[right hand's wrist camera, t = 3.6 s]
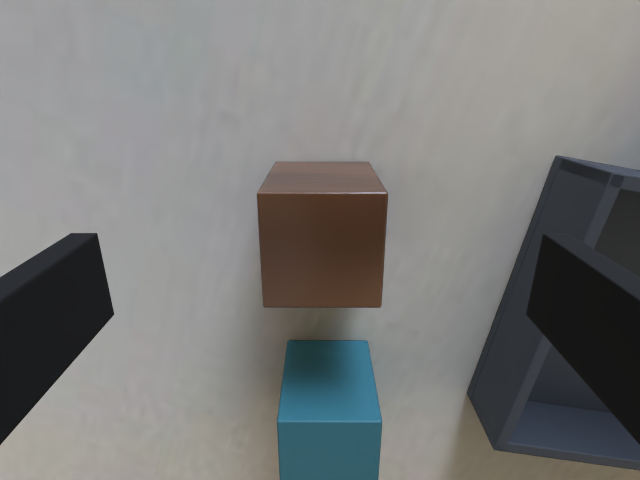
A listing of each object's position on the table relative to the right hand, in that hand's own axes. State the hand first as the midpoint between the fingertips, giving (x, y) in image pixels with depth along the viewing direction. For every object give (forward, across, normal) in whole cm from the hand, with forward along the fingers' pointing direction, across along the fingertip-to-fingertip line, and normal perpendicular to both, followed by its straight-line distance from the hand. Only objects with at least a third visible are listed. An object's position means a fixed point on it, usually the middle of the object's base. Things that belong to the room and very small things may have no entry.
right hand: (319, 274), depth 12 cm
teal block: (+8, 0, +10) cm, 13 cm away
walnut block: (+8, 0, 0) cm, 8 cm away
